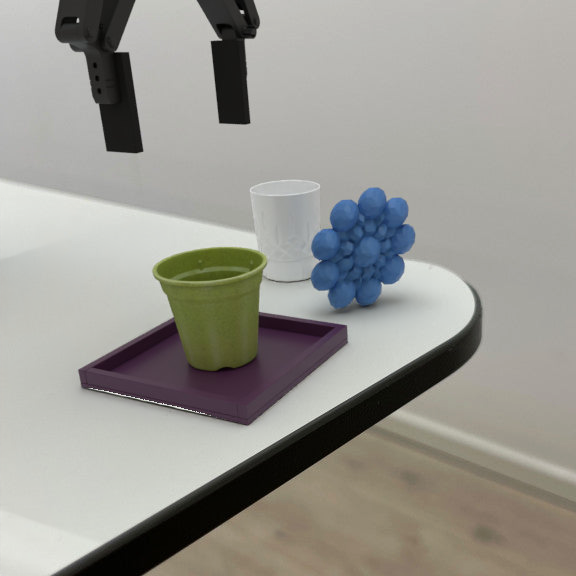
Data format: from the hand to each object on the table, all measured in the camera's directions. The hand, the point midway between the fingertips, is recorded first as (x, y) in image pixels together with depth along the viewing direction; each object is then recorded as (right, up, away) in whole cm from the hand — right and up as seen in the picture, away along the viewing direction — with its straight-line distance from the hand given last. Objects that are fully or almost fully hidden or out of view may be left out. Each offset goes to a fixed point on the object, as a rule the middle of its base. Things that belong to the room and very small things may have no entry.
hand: (185, 136), depth 59 cm
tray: (+1, -18, +8) cm, 19 cm away
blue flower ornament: (+14, -12, +20) cm, 27 cm away
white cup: (+6, -7, +30) cm, 31 cm away
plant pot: (+2, -17, +8) cm, 19 cm away
